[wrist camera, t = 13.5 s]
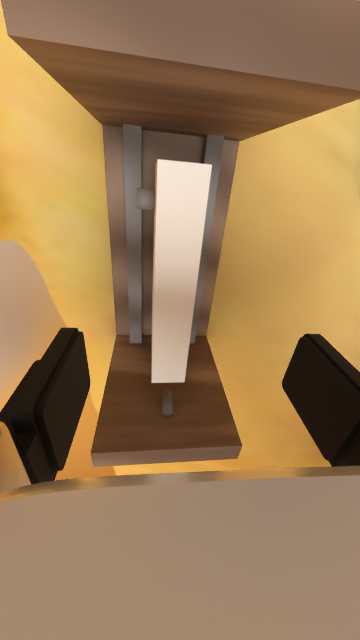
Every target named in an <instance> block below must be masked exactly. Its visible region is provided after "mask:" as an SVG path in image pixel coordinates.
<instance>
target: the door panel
mask: <svg viewBox="0 0 360 640" xmlns="http://www.w3.org/2000/svg"><path fill="white" fill-rule="evenodd" d="M211 170H212V165H210V164H200V163H191V162H181V161H171V160H161V159H157V162H156V164H155V201H154V189H147V188H137V208H138V209H143V210H154V244H153V287H152V383H175V382H185V374H186V366H187V359H188V351H189V343H190V335H191V327H192V319H193V311H194V303H195V296H196V288H197V280H198V272H199V264H200V256H201V248H202V240H203V233H204V225H205V217H206V209H207V201H208V193H209V185H210V177H211Z"/></svg>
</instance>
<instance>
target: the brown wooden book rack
mask: <svg viewBox="0 0 360 640" xmlns="http://www.w3.org/2000/svg"><path fill="white" fill-rule="evenodd" d="M1 3H2V8H3V13H4V18H5V23H6V28H7V33H8V36H10V37H11V38H12V39H13V40H14V41H15V42H16V43H17V44H18V45H19V46H20V47H21V48H22V49H23V50H24V51H25V52H26V53H27V54H28V55H30V56H31V57H32V58H33V59H34V60H35V61H36V62H37V63H38V64H39V65H40V66H41V67H42V68H43V69H44V70H45V71H46V72H47V73H48V74H50V75H51V76H52V77H53V78H54V79H55V80H56V81H57V82H58V83H59V84H60V85H61V86H62V87H63V88H64V89H65V90H66V91H67V92H68V93H70V94H71V95H72V96H73V97H74V98H75V99H76V100H77V101H78V102H79V103H80V104H81V105H82V106H83V107H84V108H85V109H86V110H87V111H88V112H90V113H91V114H92V115H93V116H94V117H95V118H96V119H97V120H98V121H99V122H100V123H101V124H102V125H103V139H104V154H105V169H106V184H107V199H108V214H109V229H110V244H111V259H112V274H113V289H114V303H115V318H116V333H117V335H116V340H115V344H114V349H113V354H112V358H111V363H110V367H109V372H108V376H107V381H106V386H105V390H104V395H103V399H102V404H101V408H100V413H99V418H98V422H97V427H96V431H95V436H94V441H93V445H92V450H91V457H92V463H93V467H99V466H117V465H135V464H152V463H170V462H187V461H205V460H222V459H237V458H238V456H239V453H240V450H241V448H242V444H241V441H240V438H239V435H238V432H237V428H236V425H235V422H234V419H233V416H232V413H231V410H230V407H229V404H228V401H227V398H226V395H225V392H224V389H223V386H222V383H221V380H220V377H219V374H218V371H217V368H216V365H215V362H214V359H213V356H212V352H211V349H210V346H209V343H208V340H207V337H206V333H207V327H208V321H209V315H210V310H211V304H212V298H213V292H214V286H215V280H216V274H217V269H218V263H219V257H220V251H221V245H222V239H223V233H224V228H225V222H226V216H227V210H228V204H229V198H230V192H231V187H232V181H233V175H234V169H235V163H236V157H237V152H238V146H239V141H241V140H244V139H247V138H250V137H253V136H256V135H258V134H261V133H264V132H267V131H270V130H272V129H275V128H278V127H281V126H284V125H287V124H289V123H292V122H295V121H298V120H301V119H304V118H306V117H309V116H312V115H315V114H318V113H321V112H323V111H326V110H329V109H332V108H335V107H338V106H340V105H343V104H346V103H349V102H352V101H355V100H357V99H360V0H1ZM157 159H161V160H171V161H181V162H191V163H200V164H210V165H212V170H211V177H210V185H209V193H208V201H207V209H206V217H205V225H204V233H203V240H202V248H201V256H200V264H199V272H198V280H197V288H196V296H195V303H194V311H193V319H192V327H191V335H190V343H189V351H188V359H187V366H186V374H185V382H175V383H152V287H153V244H154V210H143V209H138V208H137V188H147V189H154V201H155V164H156V162H157Z"/></svg>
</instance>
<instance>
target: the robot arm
mask: <svg viewBox="0 0 360 640" xmlns="http://www.w3.org/2000/svg"><path fill="white" fill-rule="evenodd" d="M282 387H283V389H284V391H285V393H286V394H287V396H288V398H289V399H290V401H291V403H292V405H293V406H294V408H295V410H296V411H297V413H298V415H299V416H300V418H301V420H302V421H303V423H304V425H305V426H306V428H307V430H308V432H309V433H310V435H311V437H312V438H313V440H314V442H315V443H316V445H317V447H318V448H319V450H320V452H321V454H322V455H323V457H324V458H325V459H326V460H328V461H329V462H330V464H331V466H332V467H309V468H282V469H256V470H232V471H207V472H185V473H163V474H141V475H122V476H107V477H91V478H75V479H65V480H56V481H54V480H55V477H56V474H57V471H61V470H63V468H64V465H65V463H66V459H67V456H68V453H69V450H70V447H71V444H72V441H73V437H74V435H75V431H76V428H77V426H78V422H79V419H80V416H81V413H82V410H83V407H84V404H85V401H86V398H87V395H88V392H89V388H90V376H89V369H88V362H87V355H86V349H85V342H84V335H83V332H79V331H78V329H77V328H61V329H60V331H59V332H58V334H57V335H56V337H55V338H54V340H53V341H52V343H51V344H50V346H49V347H48V349H47V351H46V352H45V354H44V355H43V357H42V358H41V360H37V361H35V362H34V363H33V364H32V366H31V367H30V369H29V370H28V372H27V373H26V375H25V376H24V378H23V379H22V381H21V382H20V384H19V385H18V387H17V388H16V390H15V391H14V393H13V394H12V396H11V397H10V399H9V400H8V402H7V403H6V405H5V406H4V408H3V409H2V411H1V412H0V640H360V372H359V371H358V370H357V369H356V368H355V367H353V366H352V365H351V364H350V363H349V362H348V361H347V360H346V359H345V358H344V357H343V356H342V355H341V354H340V353H339V352H338V351H337V350H336V349H335V348H334V347H333V346H332V345H331V344H330V343H329V342H328V341H327V340H326V339H325V338H324V337H322V336H321V335H320V334H305V335H304V336H303V337H301V338H300V339H299V341H298V344H297V346H296V349H295V351H294V353H293V356H292V358H291V361H290V363H289V366H288V368H287V371H286V373H285V375H284V378H283V380H282Z"/></svg>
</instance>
